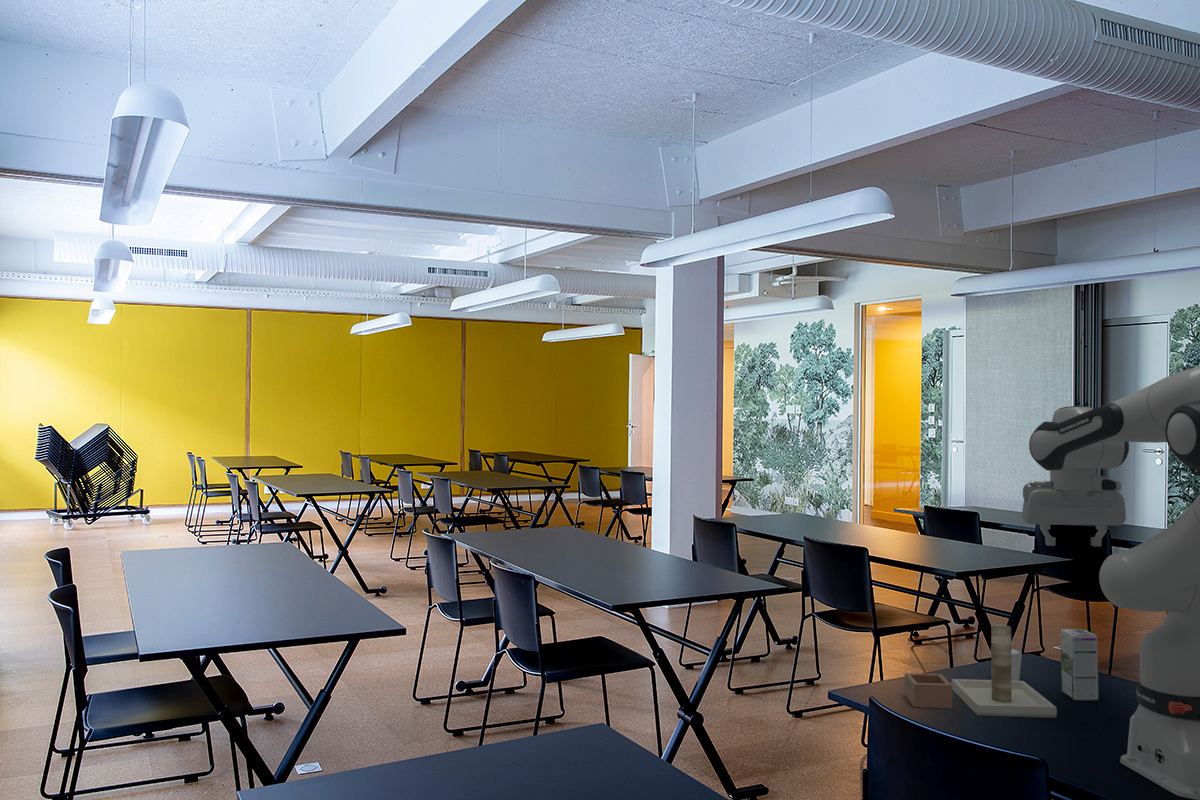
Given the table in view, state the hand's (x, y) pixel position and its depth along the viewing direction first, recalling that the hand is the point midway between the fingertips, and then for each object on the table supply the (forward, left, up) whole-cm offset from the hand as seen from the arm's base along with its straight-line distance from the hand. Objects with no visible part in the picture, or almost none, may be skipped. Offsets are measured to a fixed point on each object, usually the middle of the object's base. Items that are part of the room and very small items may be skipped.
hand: (1073, 545), depth 192 cm
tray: (+3, +14, -35) cm, 38 cm away
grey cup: (+20, +7, -35) cm, 41 cm away
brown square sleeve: (+2, +30, -35) cm, 46 cm away
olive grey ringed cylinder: (+3, +14, -34) cm, 37 cm away
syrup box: (+9, -5, -35) cm, 37 cm away
